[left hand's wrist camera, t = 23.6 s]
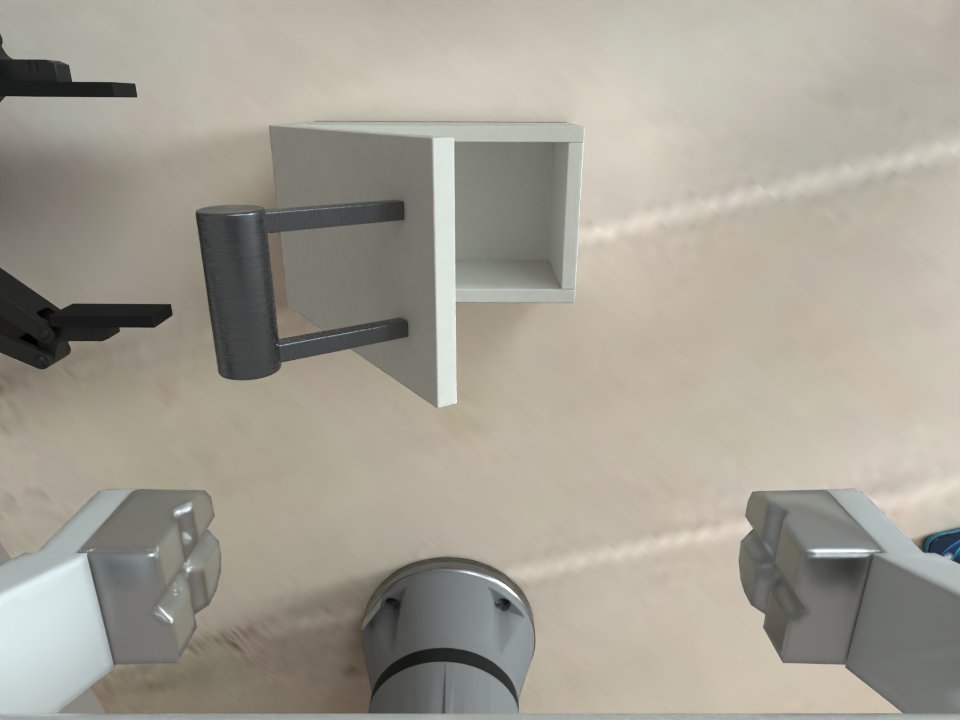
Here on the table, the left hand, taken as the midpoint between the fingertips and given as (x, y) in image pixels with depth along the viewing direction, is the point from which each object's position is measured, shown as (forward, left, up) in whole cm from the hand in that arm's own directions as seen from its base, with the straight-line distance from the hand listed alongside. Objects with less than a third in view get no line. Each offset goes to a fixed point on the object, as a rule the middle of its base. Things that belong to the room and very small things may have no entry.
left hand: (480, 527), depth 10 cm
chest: (+2, -2, -40) cm, 40 cm away
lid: (+3, -5, -23) cm, 24 cm away
